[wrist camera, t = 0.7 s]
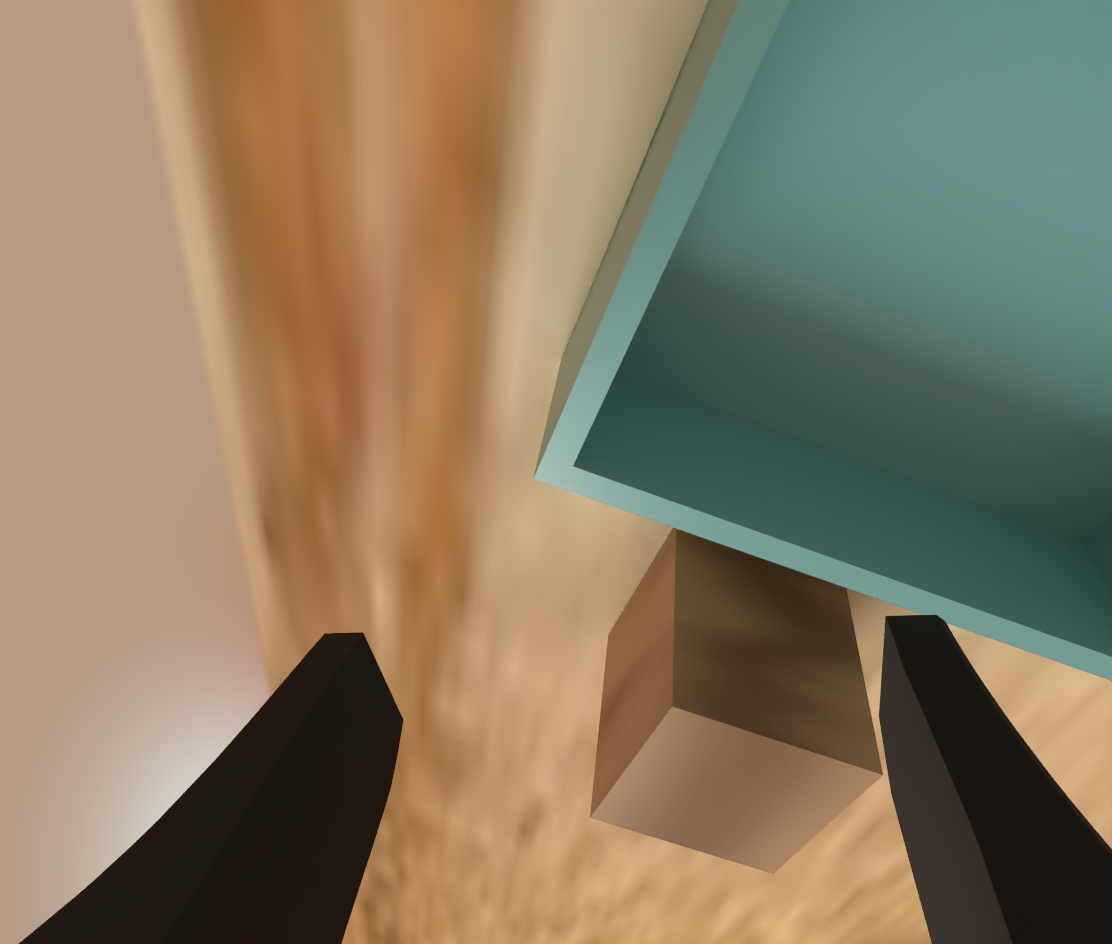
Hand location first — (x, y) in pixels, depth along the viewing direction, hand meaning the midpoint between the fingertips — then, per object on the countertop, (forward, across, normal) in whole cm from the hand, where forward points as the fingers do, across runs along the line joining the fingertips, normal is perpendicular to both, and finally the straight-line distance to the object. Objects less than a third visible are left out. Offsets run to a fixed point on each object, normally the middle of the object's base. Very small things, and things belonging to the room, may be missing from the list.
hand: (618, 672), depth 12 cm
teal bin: (+10, -7, -1) cm, 12 cm away
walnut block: (+10, -1, +9) cm, 13 cm away
